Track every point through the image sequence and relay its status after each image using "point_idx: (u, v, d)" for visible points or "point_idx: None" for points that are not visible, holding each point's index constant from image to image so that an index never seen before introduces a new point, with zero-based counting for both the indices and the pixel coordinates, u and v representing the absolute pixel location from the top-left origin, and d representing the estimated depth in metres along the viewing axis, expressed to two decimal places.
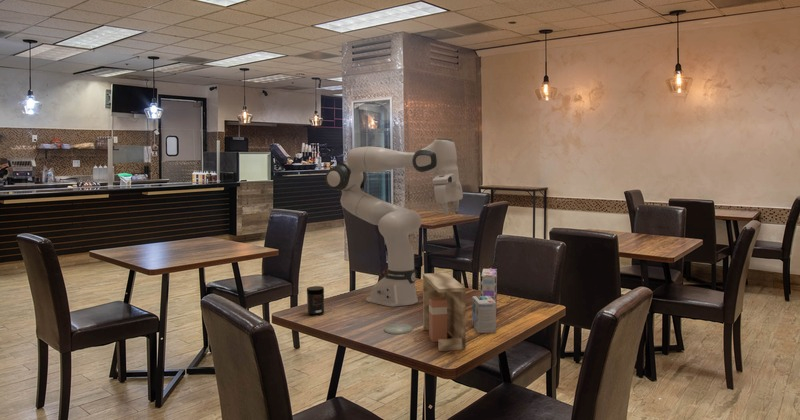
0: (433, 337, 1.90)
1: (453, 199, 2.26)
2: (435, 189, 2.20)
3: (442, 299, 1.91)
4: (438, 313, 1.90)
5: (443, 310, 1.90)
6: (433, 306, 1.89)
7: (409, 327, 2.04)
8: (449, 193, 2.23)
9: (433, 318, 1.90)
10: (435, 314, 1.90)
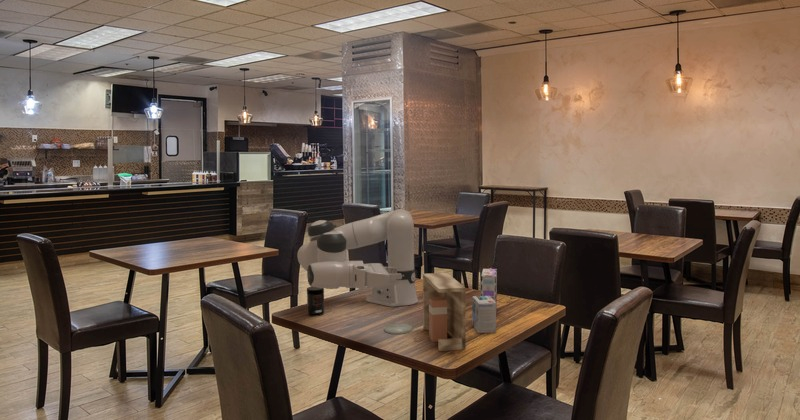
0: (433, 337, 1.90)
1: (383, 268, 1.87)
2: (372, 284, 1.78)
3: (442, 299, 1.91)
4: (438, 313, 1.90)
5: (443, 310, 1.90)
6: (433, 306, 1.89)
7: (409, 327, 2.04)
8: (376, 270, 1.83)
9: (433, 318, 1.90)
10: (435, 314, 1.90)
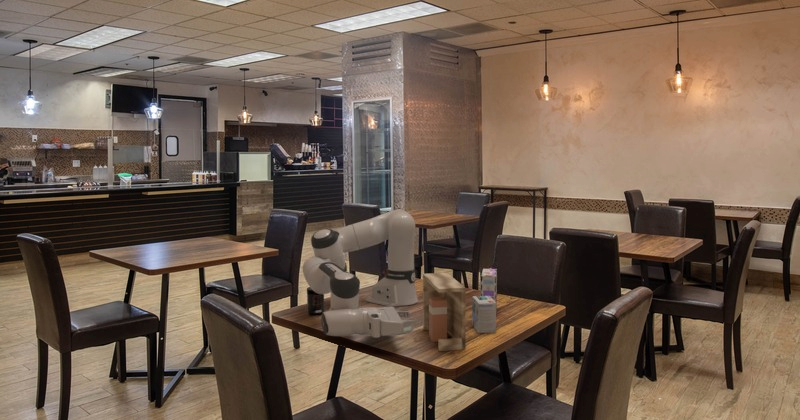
0: (433, 337, 1.90)
1: (396, 314, 1.89)
2: (386, 333, 1.80)
3: (442, 299, 1.91)
4: (438, 313, 1.90)
5: (443, 310, 1.90)
6: (433, 306, 1.89)
7: (409, 327, 2.04)
8: (390, 317, 1.85)
9: (433, 318, 1.90)
10: (435, 314, 1.90)
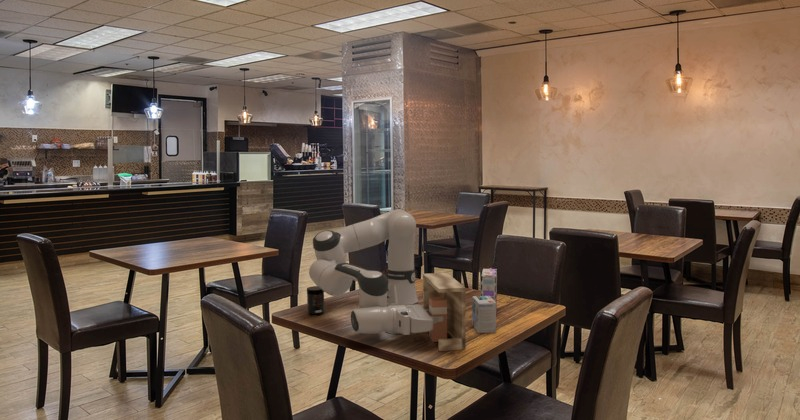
0: (433, 337, 1.90)
1: (425, 312, 1.91)
2: (416, 330, 1.82)
3: (442, 299, 1.91)
4: (438, 313, 1.90)
5: (443, 310, 1.90)
6: (433, 306, 1.89)
7: None
8: (419, 315, 1.87)
9: None
10: (435, 314, 1.90)
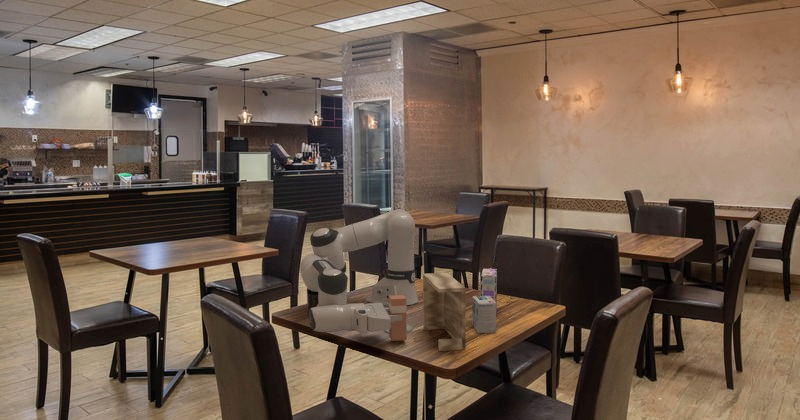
0: (392, 336, 1.88)
1: (384, 310, 1.88)
2: (373, 329, 1.79)
3: (402, 297, 1.88)
4: (397, 312, 1.87)
5: (403, 308, 1.87)
6: (392, 304, 1.87)
7: (409, 327, 2.04)
8: (378, 314, 1.84)
9: None
10: (395, 313, 1.87)
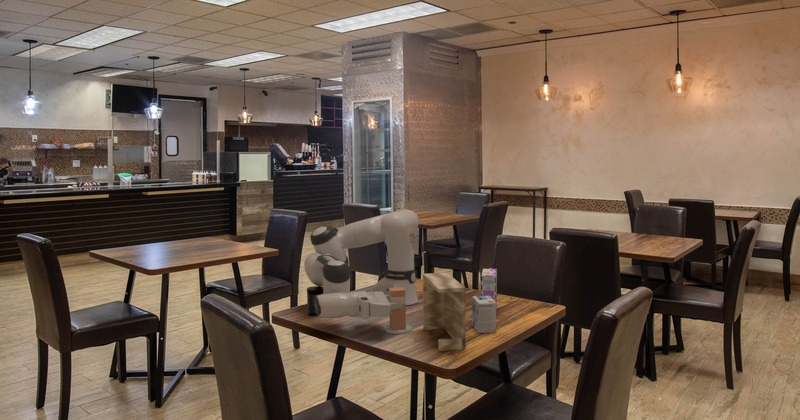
0: (392, 325, 2.01)
1: (385, 298, 2.01)
2: (375, 315, 1.92)
3: (401, 289, 2.02)
4: None
5: (402, 299, 2.01)
6: (392, 296, 2.00)
7: (409, 327, 2.04)
8: (379, 301, 1.97)
9: None
10: None
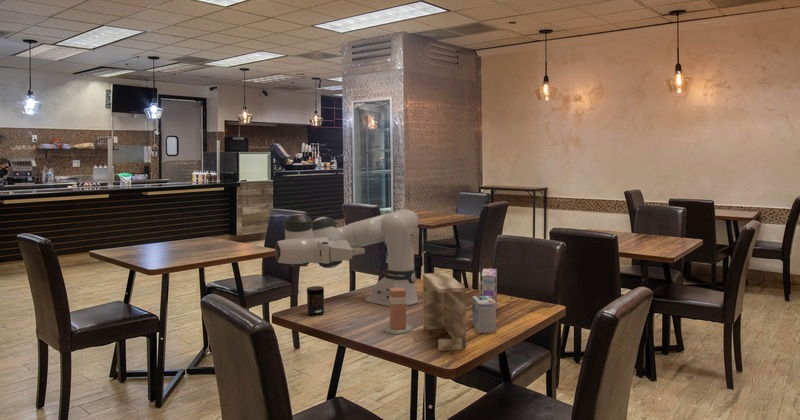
0: (393, 326, 2.01)
1: (347, 244, 1.97)
2: (335, 259, 1.88)
3: (401, 290, 2.01)
4: (397, 303, 2.00)
5: (402, 300, 2.00)
6: (392, 296, 2.00)
7: (409, 327, 2.04)
8: (340, 246, 1.93)
9: (392, 307, 2.00)
10: (395, 304, 2.00)
